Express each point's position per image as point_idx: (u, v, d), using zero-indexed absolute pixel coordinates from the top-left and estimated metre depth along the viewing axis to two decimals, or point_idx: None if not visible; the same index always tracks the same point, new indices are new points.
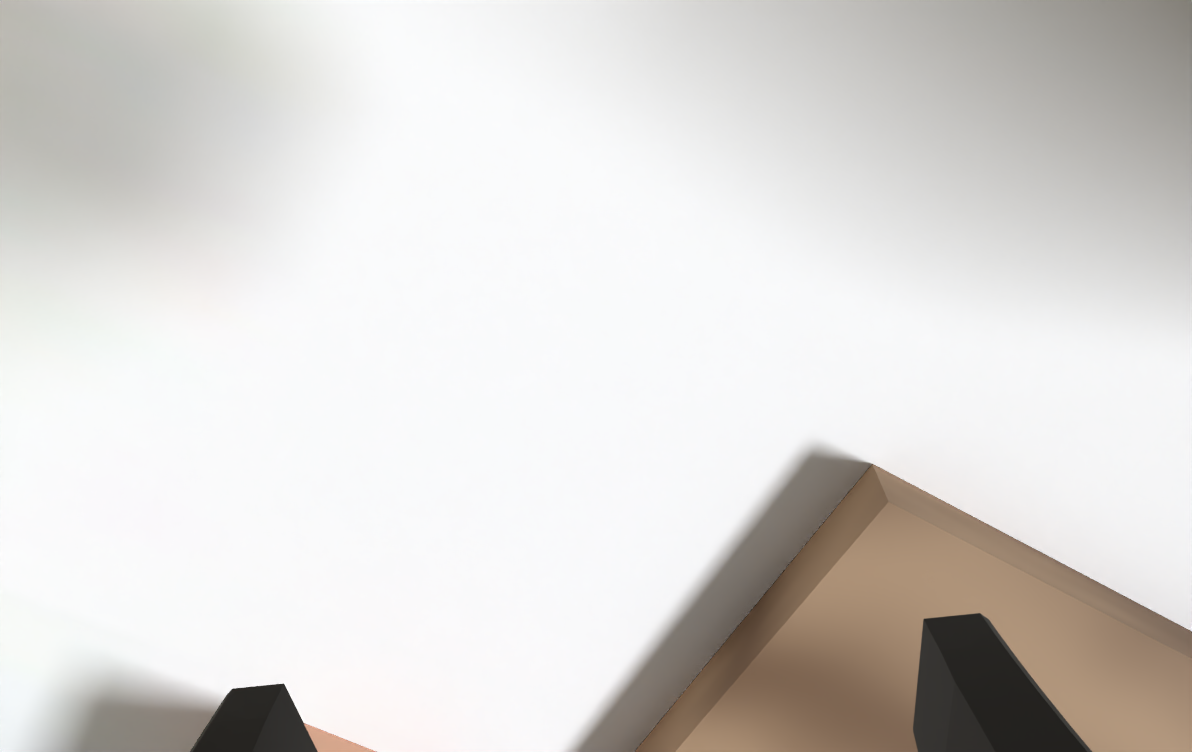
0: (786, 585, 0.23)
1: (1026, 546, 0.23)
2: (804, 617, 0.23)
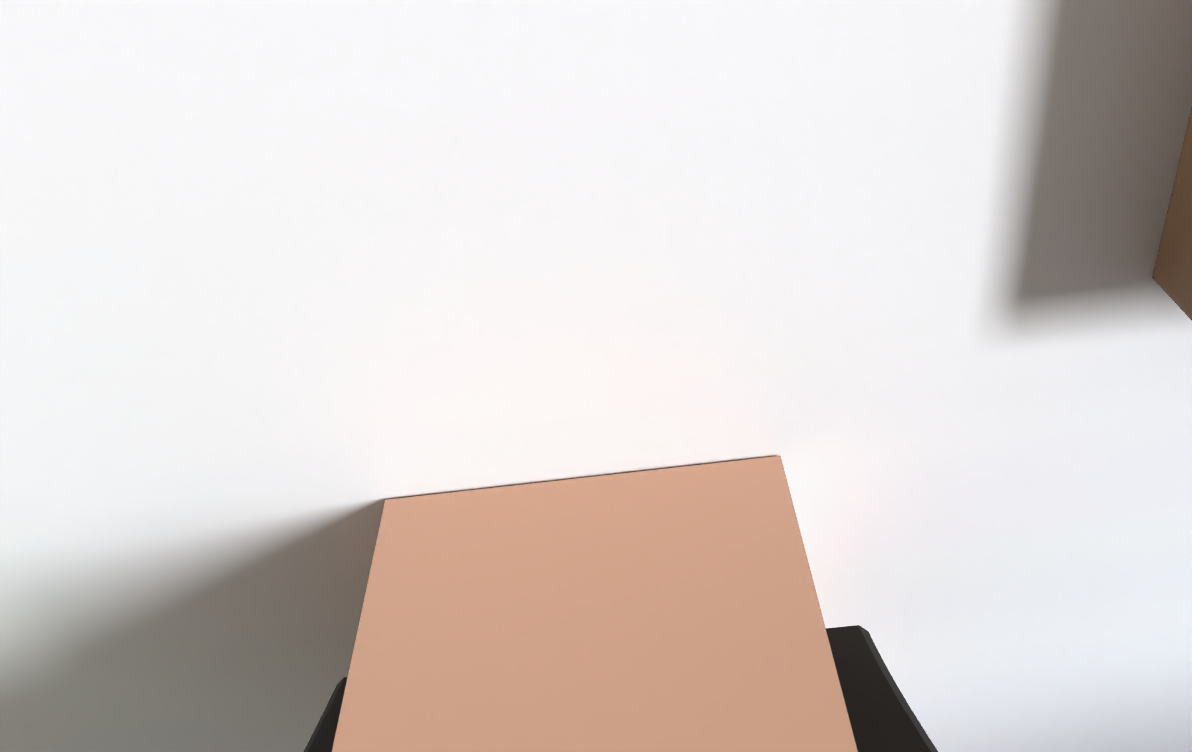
0: None
1: None
2: None
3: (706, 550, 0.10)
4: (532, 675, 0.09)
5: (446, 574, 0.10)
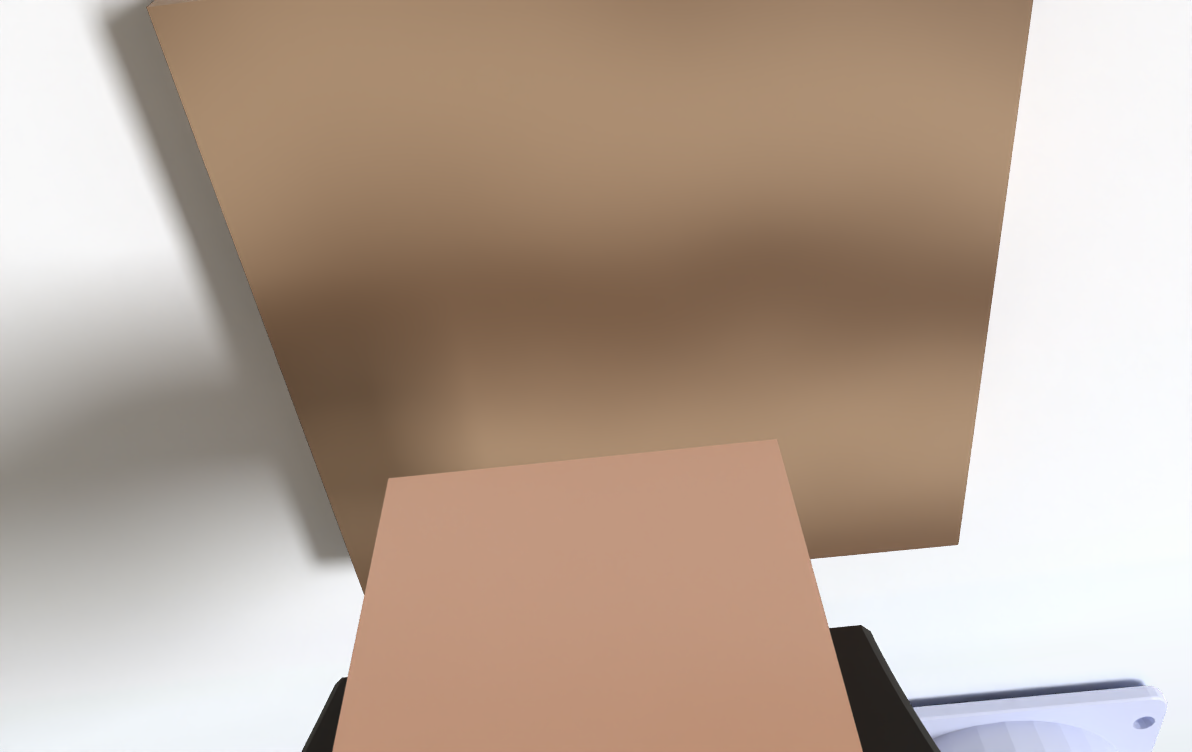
0: None
1: None
2: (247, 229, 0.16)
3: (705, 528, 0.10)
4: (536, 647, 0.09)
5: (450, 550, 0.11)
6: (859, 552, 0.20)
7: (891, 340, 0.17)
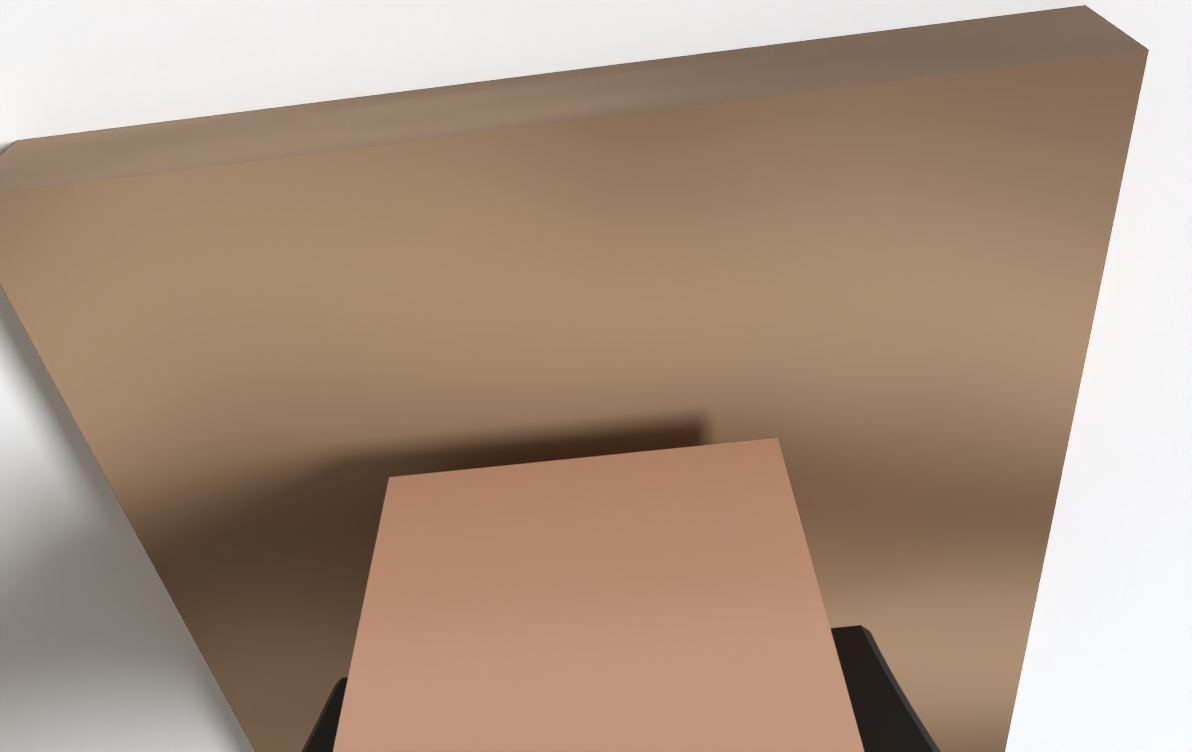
0: None
1: (390, 95, 0.11)
2: (114, 448, 0.12)
3: (706, 527, 0.10)
4: (537, 646, 0.09)
5: (450, 549, 0.11)
6: None
7: (928, 558, 0.14)
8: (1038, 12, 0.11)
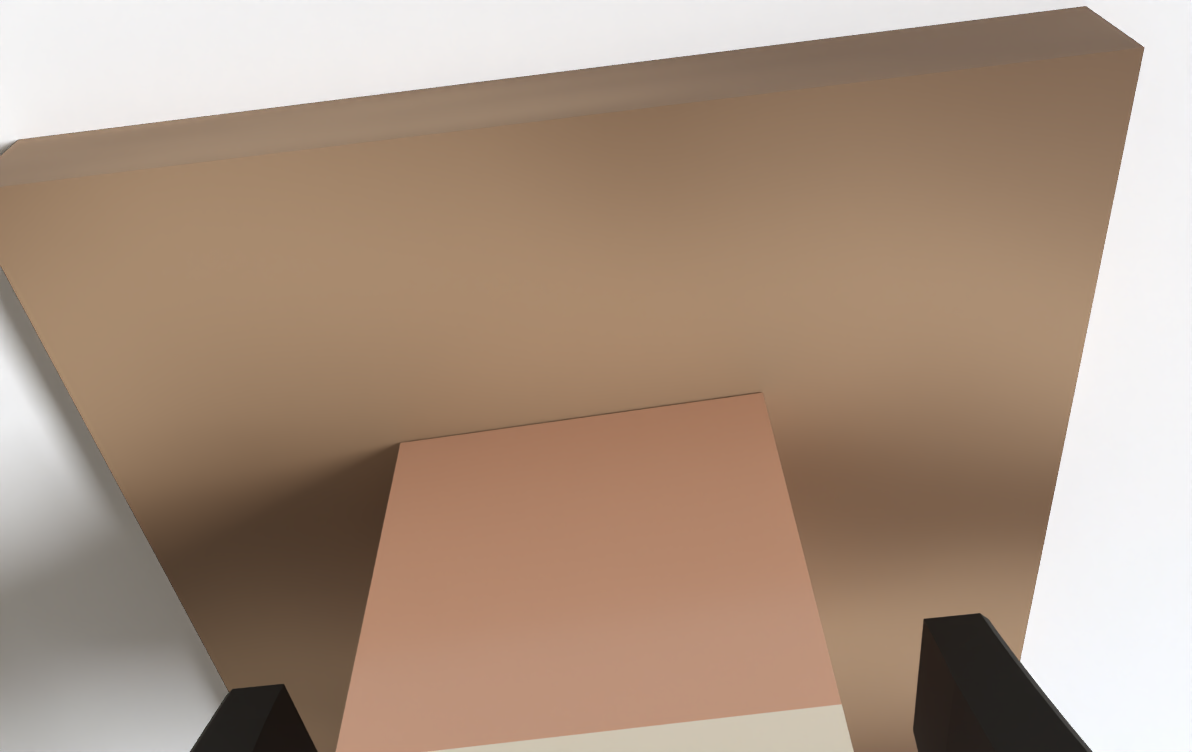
0: None
1: None
2: (118, 441, 0.12)
3: (693, 476, 0.11)
4: (534, 587, 0.10)
5: (456, 504, 0.11)
6: None
7: (925, 554, 0.14)
8: None
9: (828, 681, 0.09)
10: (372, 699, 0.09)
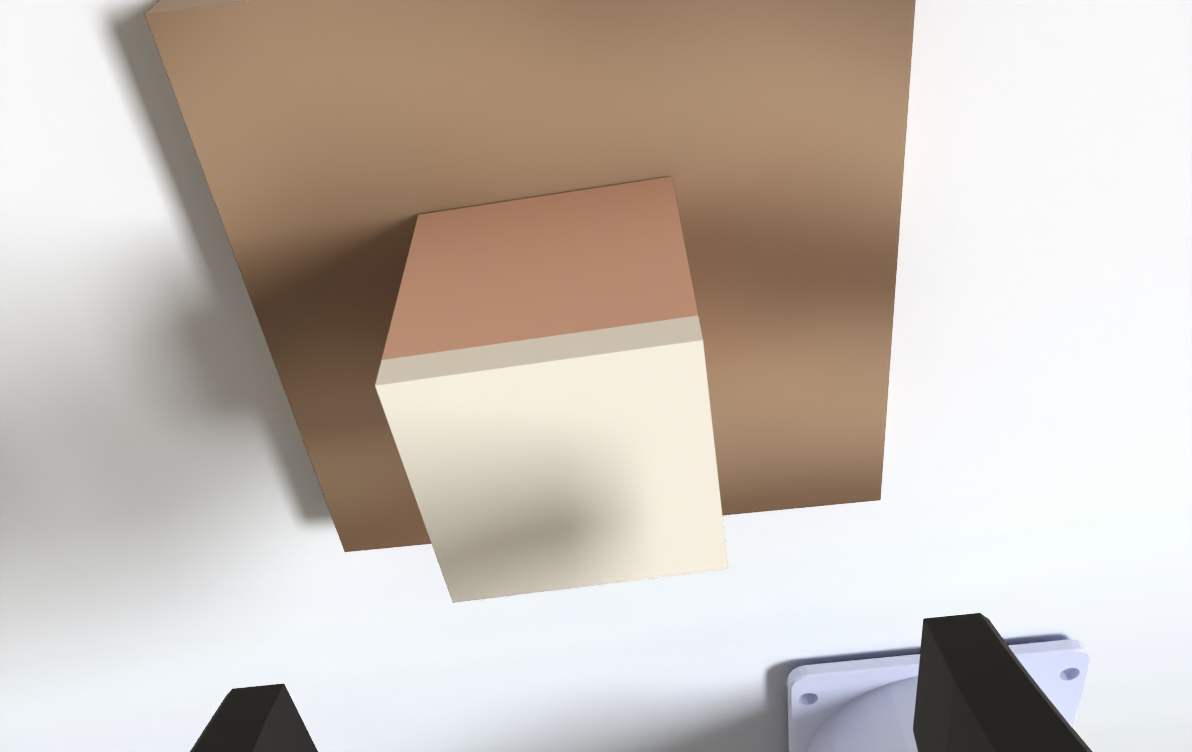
0: None
1: None
2: (234, 209, 0.18)
3: (619, 220, 0.16)
4: (510, 277, 0.16)
5: (458, 242, 0.17)
6: (791, 507, 0.22)
7: (809, 310, 0.19)
8: None
9: (691, 306, 0.14)
10: (404, 332, 0.15)
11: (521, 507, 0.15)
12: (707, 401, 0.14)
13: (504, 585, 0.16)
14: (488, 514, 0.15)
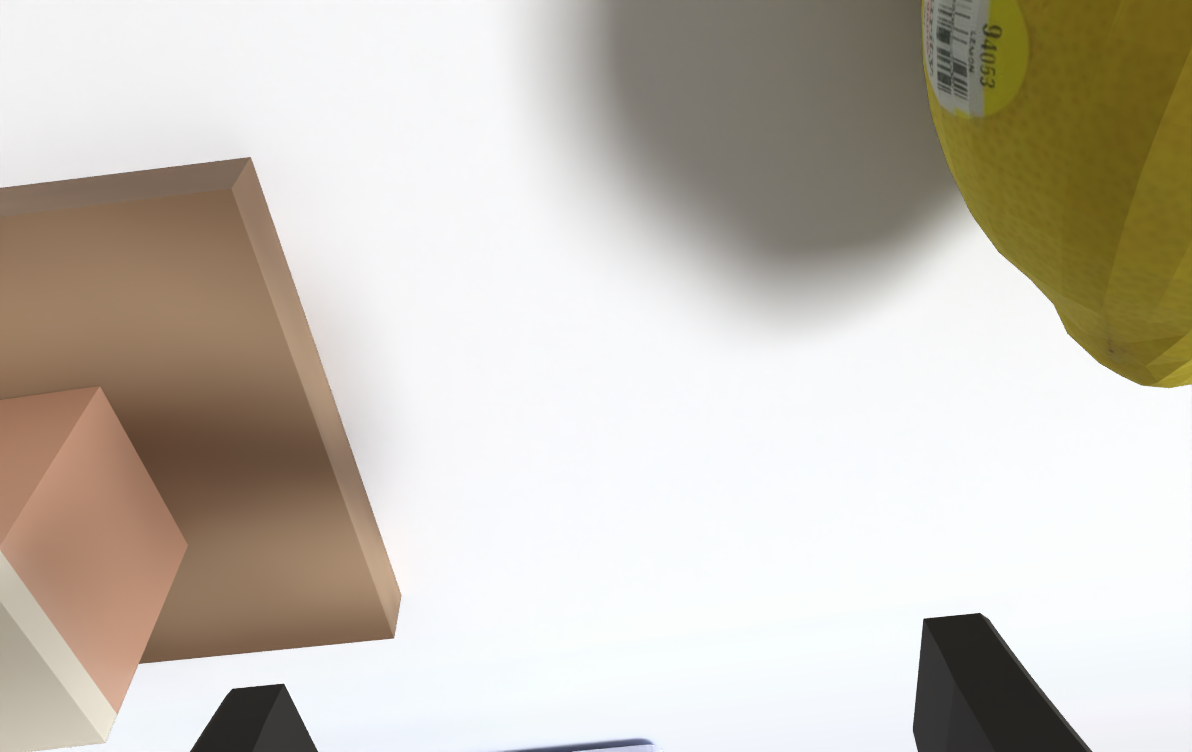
0: None
1: None
2: None
3: (24, 434, 0.19)
4: None
5: None
6: (316, 644, 0.25)
7: (263, 488, 0.22)
8: None
9: (0, 537, 0.17)
10: None
11: None
12: (13, 619, 0.16)
13: None
14: None
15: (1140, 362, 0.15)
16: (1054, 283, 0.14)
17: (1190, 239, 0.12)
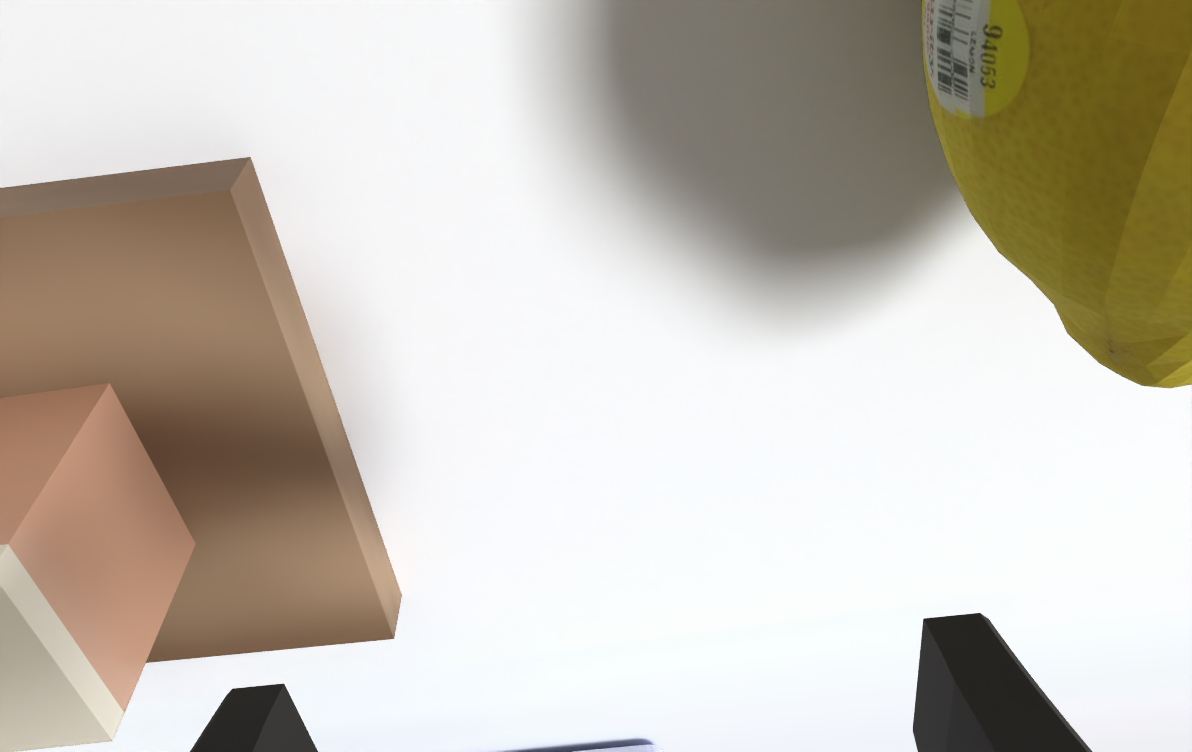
0: None
1: None
2: None
3: (33, 431, 0.19)
4: None
5: None
6: (316, 644, 0.25)
7: (262, 489, 0.22)
8: None
9: (9, 533, 0.16)
10: None
11: None
12: (21, 616, 0.16)
13: None
14: None
15: (1140, 362, 0.15)
16: (1055, 284, 0.14)
17: (1191, 240, 0.12)
